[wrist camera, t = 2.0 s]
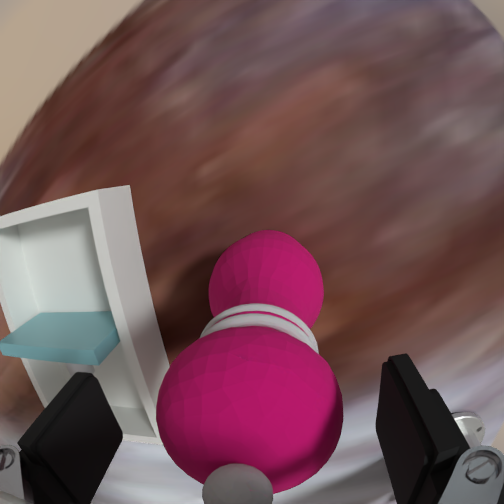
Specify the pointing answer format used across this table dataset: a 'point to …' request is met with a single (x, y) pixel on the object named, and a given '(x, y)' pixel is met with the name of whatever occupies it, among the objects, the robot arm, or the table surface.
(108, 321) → the pusher
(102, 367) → the white tray
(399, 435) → the robot arm
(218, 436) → the pepper mill
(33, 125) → the table surface
